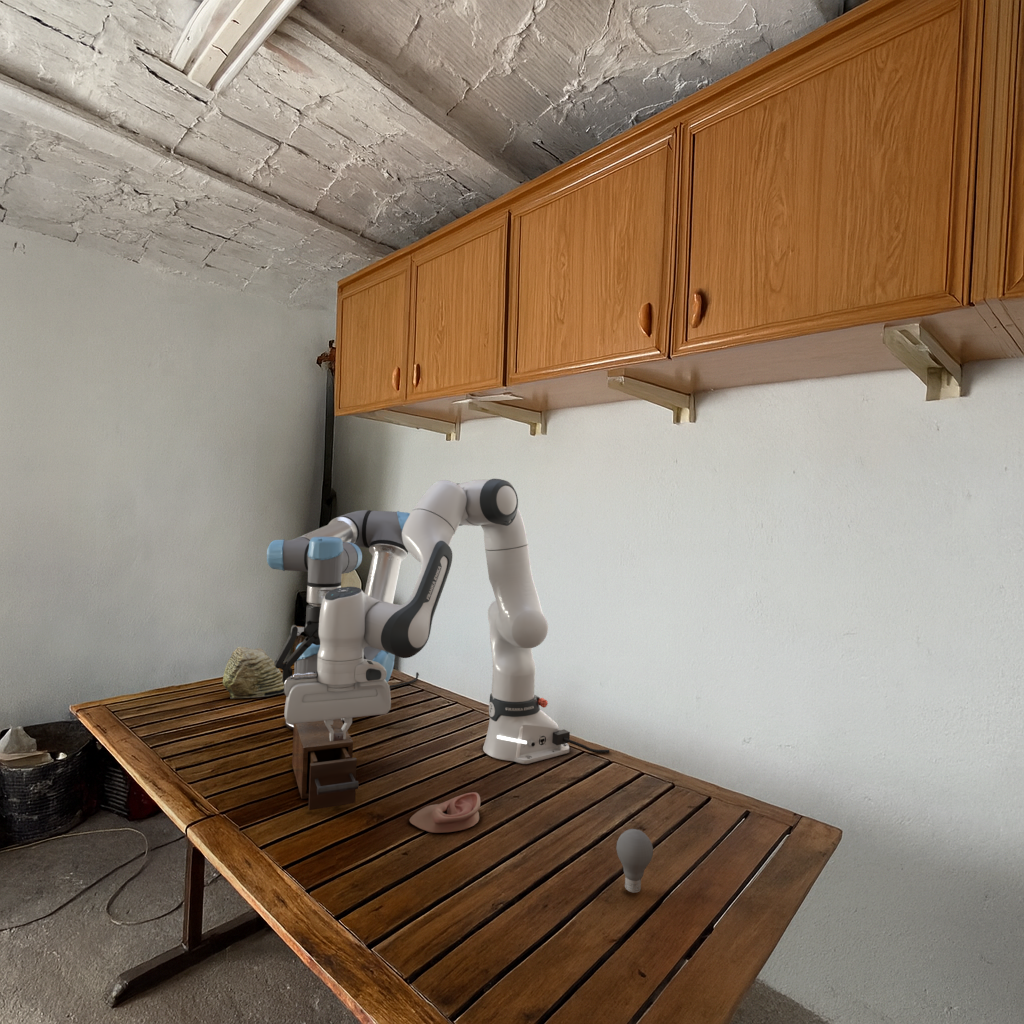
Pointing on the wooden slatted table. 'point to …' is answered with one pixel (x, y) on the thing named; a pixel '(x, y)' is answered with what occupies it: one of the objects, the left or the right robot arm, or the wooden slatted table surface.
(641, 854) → the light bulb
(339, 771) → the drawer
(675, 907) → the wooden slatted table surface
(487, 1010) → the wooden slatted table surface
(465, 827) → the anatomical model
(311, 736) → the brown box
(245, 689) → the fossil
